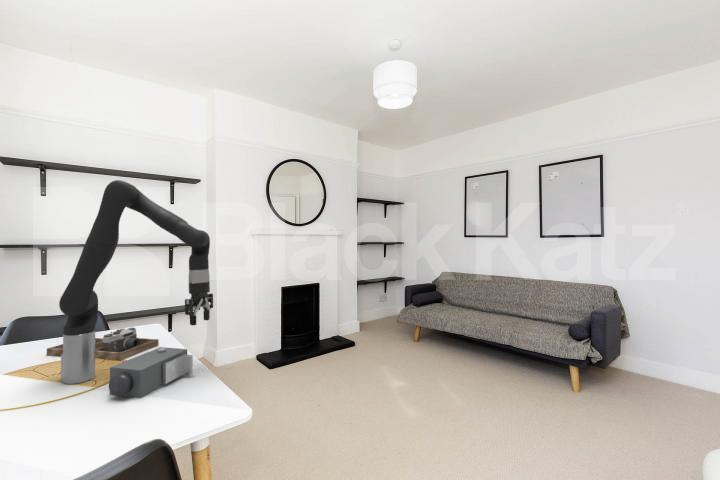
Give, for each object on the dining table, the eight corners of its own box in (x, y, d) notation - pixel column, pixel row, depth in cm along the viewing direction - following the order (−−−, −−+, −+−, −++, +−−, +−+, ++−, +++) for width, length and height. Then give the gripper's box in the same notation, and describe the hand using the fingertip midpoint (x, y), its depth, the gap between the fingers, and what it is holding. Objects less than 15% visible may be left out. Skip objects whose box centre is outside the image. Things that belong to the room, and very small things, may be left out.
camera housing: (101, 398, 112) (101, 368, 112) (160, 369, 137) (160, 345, 137) (133, 402, 110) (133, 371, 110) (187, 372, 134) (187, 347, 134)
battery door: (162, 383, 121) (162, 363, 121) (182, 372, 131) (182, 354, 131) (173, 384, 121) (173, 364, 120) (192, 373, 130) (192, 355, 130)
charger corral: (46, 355, 153) (46, 348, 153) (86, 343, 170) (86, 337, 170) (74, 357, 150) (74, 350, 150) (111, 345, 167) (111, 339, 167)
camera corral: (91, 357, 150) (91, 350, 150) (132, 343, 170) (132, 337, 170) (120, 360, 147) (120, 353, 147) (158, 345, 167) (158, 339, 167)
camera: (119, 358, 150) (119, 335, 150) (100, 356, 152) (100, 333, 152) (148, 347, 165) (148, 326, 165) (130, 345, 167) (130, 325, 167)
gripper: (202, 278, 144) (203, 318, 144) (177, 283, 130) (178, 327, 130) (218, 278, 143) (219, 318, 143) (195, 283, 128) (196, 327, 129)
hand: (200, 322), depth 136 cm, fingers open, 7 cm apart
